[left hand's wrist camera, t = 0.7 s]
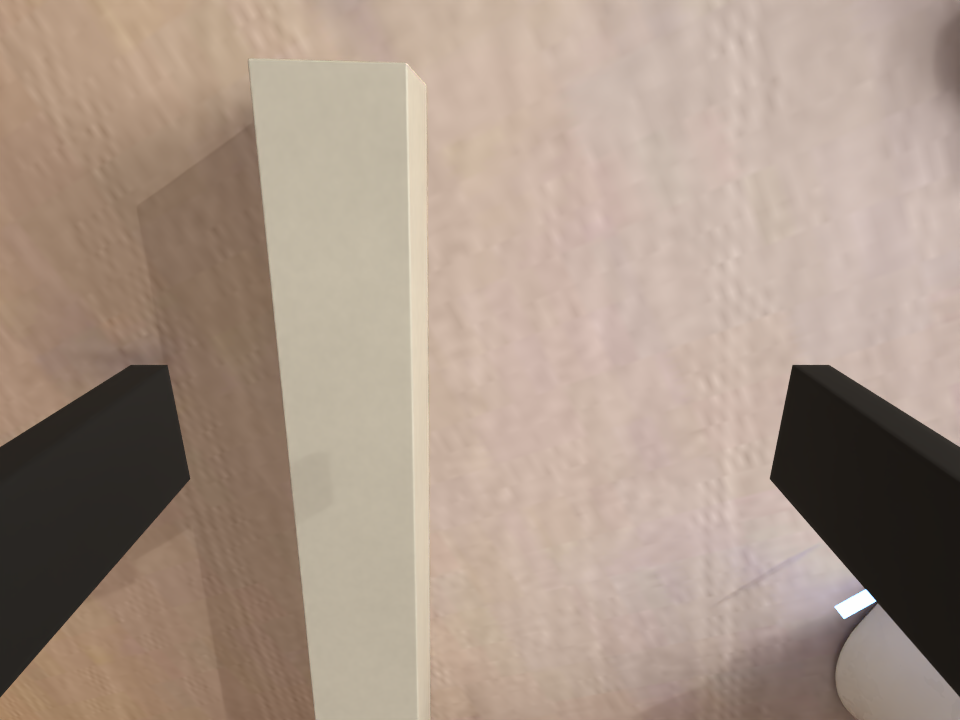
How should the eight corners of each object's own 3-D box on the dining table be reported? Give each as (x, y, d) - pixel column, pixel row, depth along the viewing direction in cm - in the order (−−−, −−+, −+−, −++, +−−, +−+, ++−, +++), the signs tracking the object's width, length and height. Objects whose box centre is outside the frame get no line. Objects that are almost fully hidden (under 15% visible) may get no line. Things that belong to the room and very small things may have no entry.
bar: (308, 80, 27) (246, 57, 20) (426, 83, 27) (407, 62, 20) (364, 882, 49) (344, 1012, 41) (431, 884, 49) (423, 1013, 41)
